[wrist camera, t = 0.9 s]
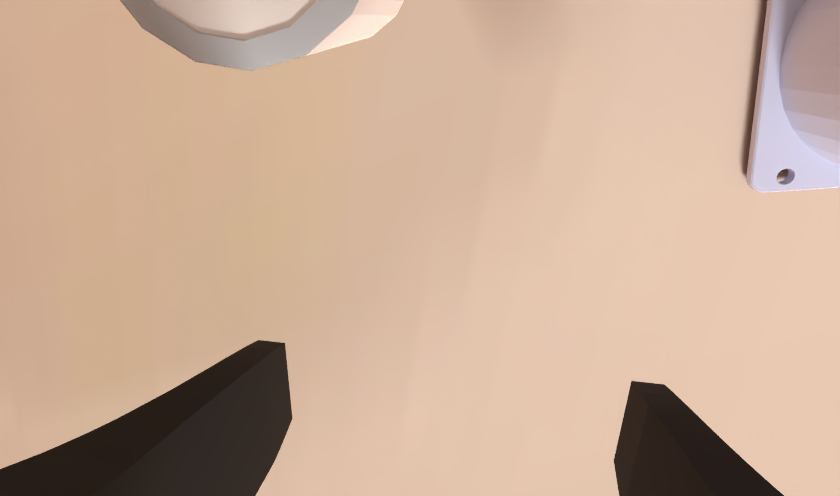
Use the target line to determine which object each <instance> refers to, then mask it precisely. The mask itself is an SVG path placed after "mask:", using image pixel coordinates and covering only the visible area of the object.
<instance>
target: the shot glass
mask: <svg viewBox="0 0 840 496" xmlns="http://www.w3.org/2000/svg"><path fill="white" fill-rule="evenodd" d="M120 1H121V2H122V3H123V5H124V6H125V7H126V8H127V10H128V11H129V12H130V13H131V14H132V16H133V17H134V18H135V19H136V21H137V22H138V23H139V24H140V26H141V27H142V28H143V29H144V30H146V31H148V32H149V33H151V34H152V35H154V36H156V37H157V38H159V39H160V40H162V41H163V42H165V43H167V44H168V45H170V46H171V47H173V48H175V49H176V50H178V51H179V52H181V53H182V54H184V55H186V56H187V57H189V58H190V59H192V60H194V61H195V62H200V63H206V64H212V65H218V66H223V67H229V68H235V69H241V70H247V71H255V70H258V69H262V68H265V67H269V66H272V65H276V64H279V63H283V62H286V61H290V60H293V59H297V58H300V57H304V56H307V55H310V54H314V53H317V52H321V51H324V50H328V49H331V48H335V47H338V46H342V45H345V44H349V43H352V42H356V41H359V40H363V39H366V38H369V37H372V36H373V35H374V34H375V33H376V32H378V31H379V30H380V29H381V28H382V27H384V26H385V25H386V24H387V23H388V22H389V21H391V20H392V19H393V18H394V17H395V16H396V15H397V13H398V11H399V9H400V7H401V5H402V3H403V1H404V0H120Z"/></svg>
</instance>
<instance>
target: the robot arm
mask: <svg viewBox="0 0 840 496" xmlns="http://www.w3.org/2000/svg"><path fill="white" fill-rule="evenodd" d="M784 169H788V175H787V177H786V178H785V179H784V180H783V181H780V182H777V179H776V177H777V175H778V173H779V172H780V171H781V170H784ZM746 178H747V183H748V185H749V186H750V187H751V188H753V189H755V190H757V191H759V192H765V193H766V192H781V191H796V190H811V189H826V188H840V0H768V1H767V9H766V17H765V26H764V34H763V42H762V51H761V59H760V67H759V76H758V84H757V92H756V101H755V109H754V117H753V126H752V134H751V142H750V151H749V159H748V167H747V176H746ZM291 420H292V411H291V401H290V391H289V381H288V370H287V360H286V350H285V343H279V342H270V341H261V340H258V341H256V342H254V343H252V344H250V345H248V346H246V347H244V348H243V349H241V350H239V351H237V352H236V353H234V354H232V355H230V356H229V357H227V358H225V359H224V360H222V361H220V362H218V363H217V364H215V365H213V366H212V367H210V368H208V369H207V370H205V371H203V372H201V373H200V374H198V375H196V376H194V377H193V378H191V379H189V380H188V381H186V382H184V383H182V384H181V385H179V386H177V387H175V388H174V389H172V390H170V391H168V392H166V393H165V394H163V395H161V396H159V397H157V398H155V399H153V400H151V401H150V402H148V403H146V404H144V405H142V406H140V407H138V408H136V409H135V410H133V411H131V412H129V413H127V414H125V415H123V416H121V417H120V418H118V419H116V420H114V421H112V422H110V423H108V424H105V425H103V426H101V427H99V428H97V429H95V430H93V431H91V432H89V433H86V434H84V435H82V436H80V437H78V438H75V439H73V440H71V441H69V442H66V443H64V444H62V445H60V446H57V447H55V448H53V449H50V450H48V451H46V452H43V453H41V454H38V455H36V456H33V457H31V458H28V459H26V460H23V461H20V462H18V463H15V464H13V465H10V466H8V467H5V468H2V469H0V496H255V495H256V493H257V492H258V490H259V488H260V486H261V485H262V483H263V481H264V479H265V477H266V476H267V474H268V472H269V470H270V469H271V467H272V465H273V463H274V461H275V459H276V457H277V454H278V452H279V450H280V447H281V445H282V443H283V440H284V438H285V435H286V433H287V430H288V428H289V425H290V423H291ZM614 464H615V471H616V477H617V484H618V490H619V495H620V496H784V495H783V494H781V493H780V492H779V491H778V490H777V489H776V488H774V487H773V486H772V485H771V484H770V483H769V482H768V481H767V480H765V479H764V478H763V477H762V476H761V475H760V474H759V473H758V472H756V471H755V470H754V469H753V468H752V467H751V466H750V465H749V464H748V463H747V462H745V461H744V460H743V459H742V458H741V457H740V456H739V455H738V454H737V453H736V452H735V451H734V450H733V449H731V448H730V447H729V446H728V445H727V444H726V443H725V442H724V441H723V440H722V439H721V438H720V437H719V436H718V435H717V434H716V433H715V432H714V431H713V430H712V429H711V428H709V427H708V426H707V425H706V424H705V423H704V422H703V421H702V420H701V419H700V418H699V417H698V416H697V415H696V414H695V413H694V412H693V411H692V410H691V409H690V408H689V407H688V406H687V405H686V404H685V403H684V402H683V401H682V400H681V399H679V398H678V397H677V396H676V395H675V394H674V393H673V392H672V391H671V390H670V389H669V388H668V387H666V386H665V385H663V384H654V383H644V382H635V381H632V382H631V386H630V391H629V395H628V400H627V404H626V409H625V413H624V418H623V422H622V427H621V431H620V436H619V440H618V445H617V449H616V454H615V458H614Z"/></svg>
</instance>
